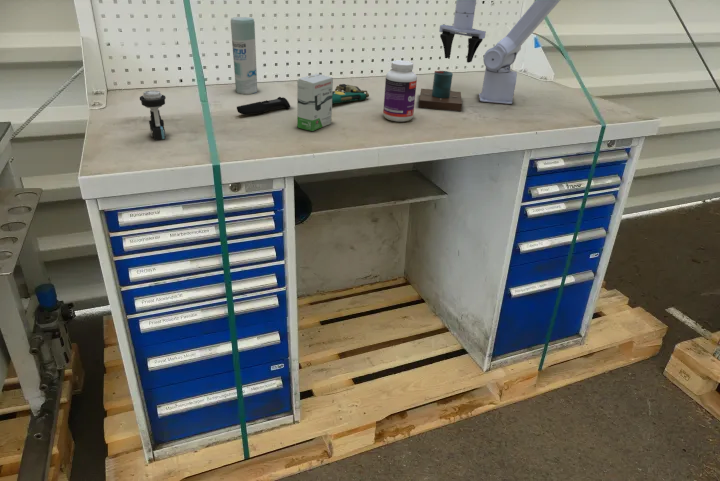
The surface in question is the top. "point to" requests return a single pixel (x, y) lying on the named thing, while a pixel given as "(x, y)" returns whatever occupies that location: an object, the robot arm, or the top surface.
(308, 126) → the ink box
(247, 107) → the electric trimmer
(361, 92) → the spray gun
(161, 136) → the push button
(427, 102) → the stand
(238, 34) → the spray paint can
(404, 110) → the pill bottle
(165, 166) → the top surface
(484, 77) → the robot arm
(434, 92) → the jar
